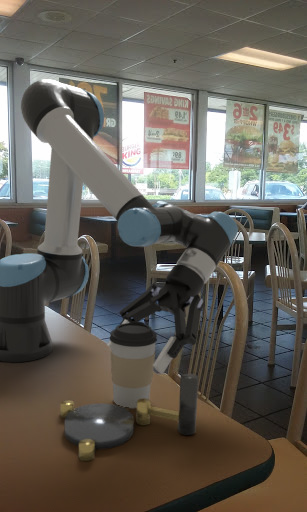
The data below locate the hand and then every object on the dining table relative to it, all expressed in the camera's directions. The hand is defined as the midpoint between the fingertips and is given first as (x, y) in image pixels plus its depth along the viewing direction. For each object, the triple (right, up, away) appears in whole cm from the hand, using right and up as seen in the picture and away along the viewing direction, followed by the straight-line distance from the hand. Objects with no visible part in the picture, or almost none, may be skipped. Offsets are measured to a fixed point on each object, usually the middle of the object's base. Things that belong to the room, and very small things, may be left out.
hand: (133, 359), depth 90 cm
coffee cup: (0, -8, +1) cm, 9 cm away
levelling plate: (-5, -10, -10) cm, 15 cm away
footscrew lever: (+6, -10, -9) cm, 14 cm away
